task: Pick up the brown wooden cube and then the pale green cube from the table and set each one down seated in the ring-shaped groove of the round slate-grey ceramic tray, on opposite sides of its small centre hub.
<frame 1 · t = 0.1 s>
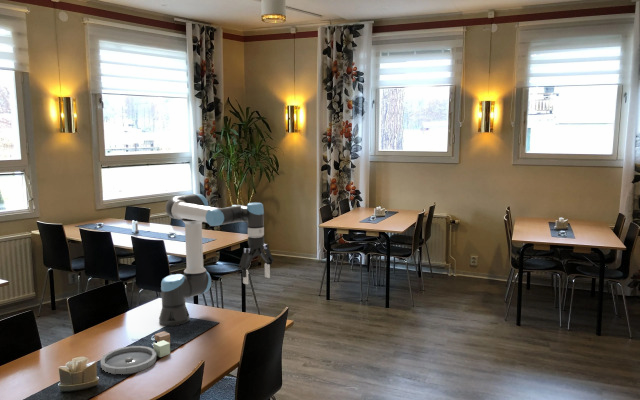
hand: (256, 280, 245), 28 cm above the table, fingers open, 13 cm apart
brown wooden cube 1: (162, 344, 241), on the table
pale green cube 2: (162, 354, 230), on the table
tray: (129, 362, 222), on the table
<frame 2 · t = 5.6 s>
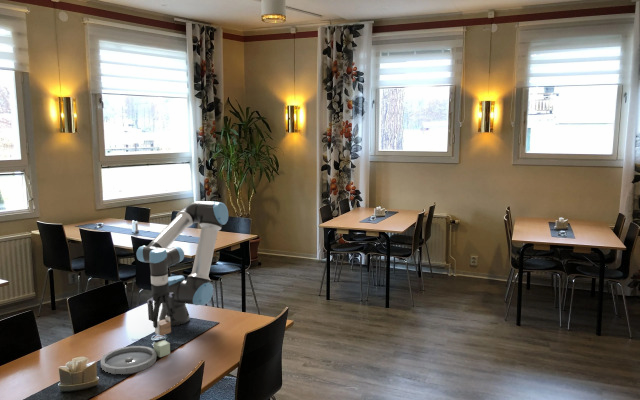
hand: (163, 331, 240), 6 cm above the table, fingers closed on brown wooden cube 1, 5 cm apart
brown wooden cube 1: (163, 332, 240), point 5 cm above the table, touching gripper
everything else where it was.
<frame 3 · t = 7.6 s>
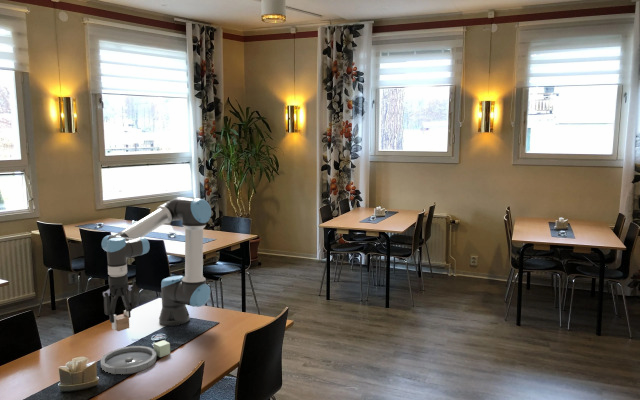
hand: (120, 327, 223), 14 cm above the table, fingers closed on brown wooden cube 1, 5 cm apart
brown wooden cube 1: (120, 328, 223), point 14 cm above the table, touching gripper
everything else where it was.
when the fingers open (2 cm above the table, at t = 10.0 s): brown wooden cube 1 stays where it is, resting on tray.
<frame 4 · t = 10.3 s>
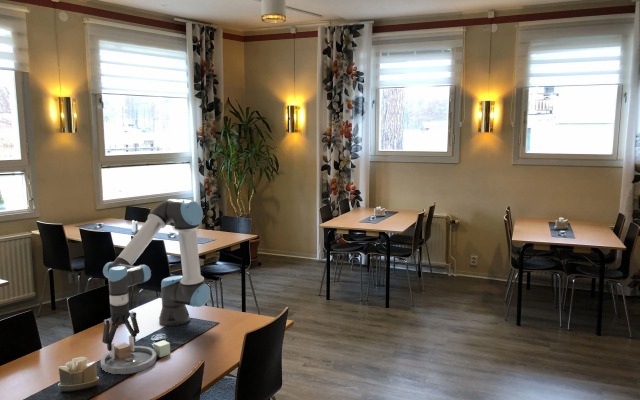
hand: (122, 353, 225), 2 cm above the table, fingers open, 8 cm apart
brown wooden cube 1: (122, 356, 225), point 1 cm above the table, touching tray
everything else where it was.
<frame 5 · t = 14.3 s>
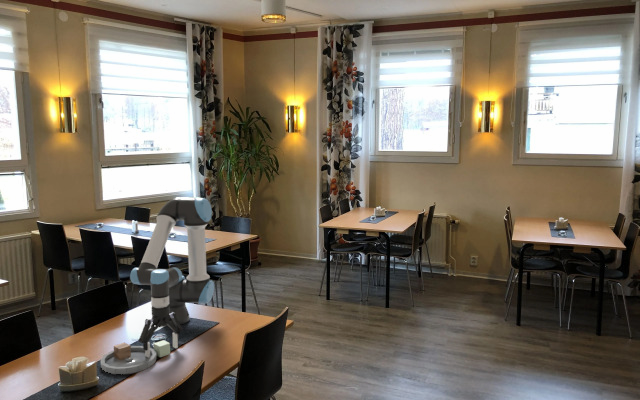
hand: (161, 352, 230), 1 cm above the table, fingers open, 13 cm apart
nothing on the table moved.
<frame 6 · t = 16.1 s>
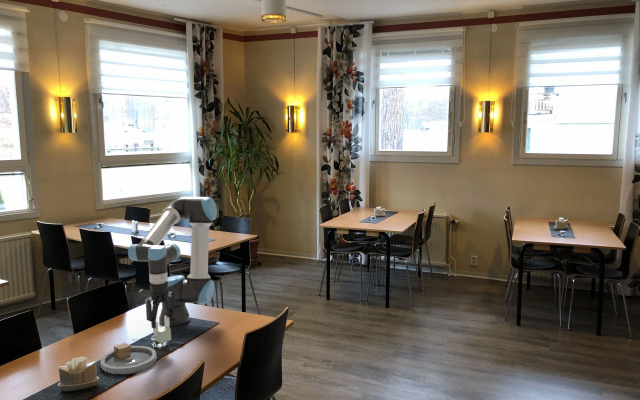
hand: (161, 332, 229), 10 cm above the table, fingers closed on pale green cube 2, 5 cm apart
pale green cube 2: (163, 340, 229), point 6 cm above the table, touching gripper
everything else where it was.
when the fingers open (2 cm above the table, at t = 20.0 s): pale green cube 2 stays where it is, resting on tray.
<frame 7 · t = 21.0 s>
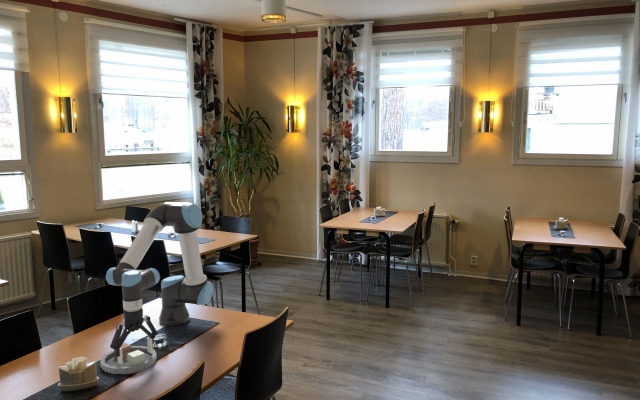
hand: (135, 357, 218), 4 cm above the table, fingers open, 13 cm apart
pale green cube 2: (136, 364, 217), point 1 cm above the table, touching tray
everything else where it was.
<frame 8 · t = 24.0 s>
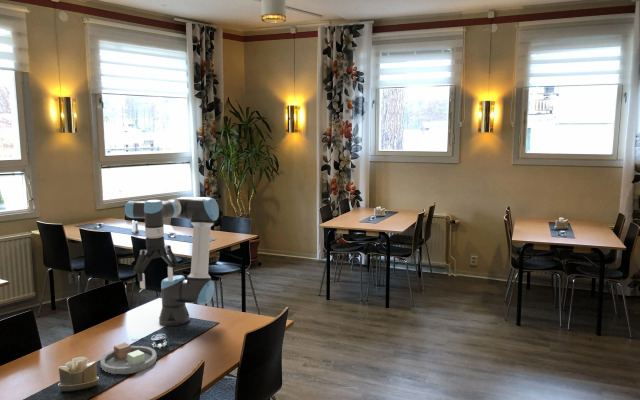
hand: (157, 284, 225), 32 cm above the table, fingers open, 13 cm apart
nothing on the table moved.
at the end: brown wooden cube 1 5.4 cm from the tray (horizontally); pale green cube 2 6.3 cm from the tray (horizontally); pale green cube 2 point 1.0 cm above the table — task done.
